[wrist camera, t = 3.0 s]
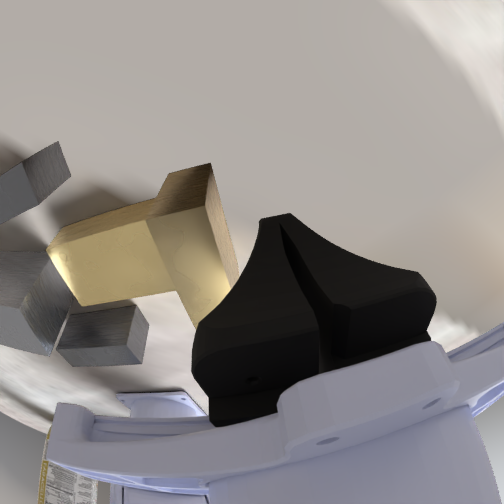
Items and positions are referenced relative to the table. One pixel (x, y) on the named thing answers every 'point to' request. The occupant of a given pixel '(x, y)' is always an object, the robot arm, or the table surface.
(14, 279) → the matte gray brick
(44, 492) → the juice carton
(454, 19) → the table surface
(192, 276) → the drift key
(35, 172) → the socket
